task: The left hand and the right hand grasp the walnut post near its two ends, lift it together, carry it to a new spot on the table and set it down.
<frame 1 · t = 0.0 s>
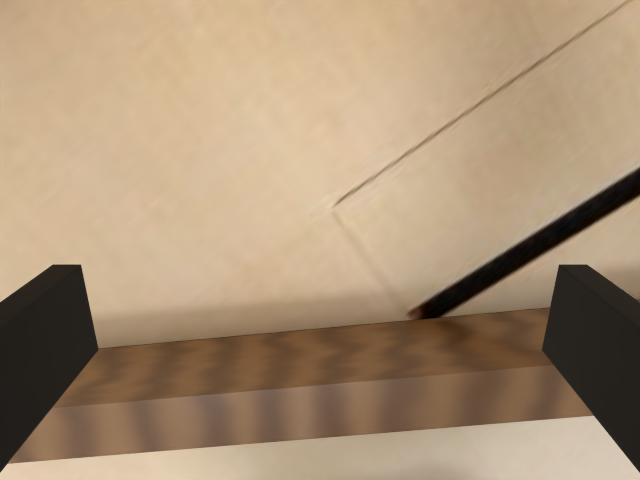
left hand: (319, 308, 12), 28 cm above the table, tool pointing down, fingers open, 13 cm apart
post: (339, 350, 46), on the table
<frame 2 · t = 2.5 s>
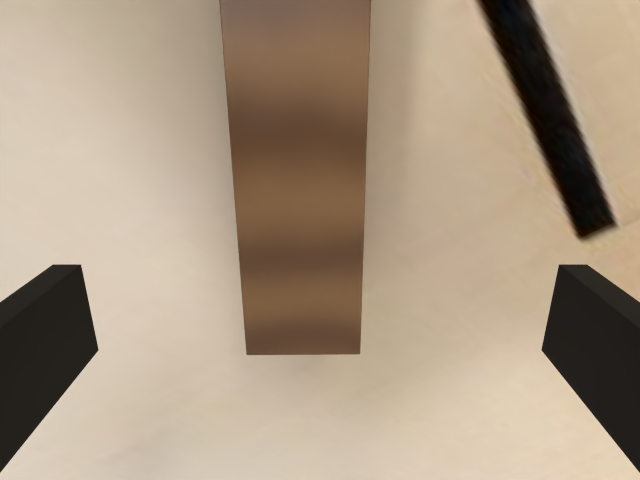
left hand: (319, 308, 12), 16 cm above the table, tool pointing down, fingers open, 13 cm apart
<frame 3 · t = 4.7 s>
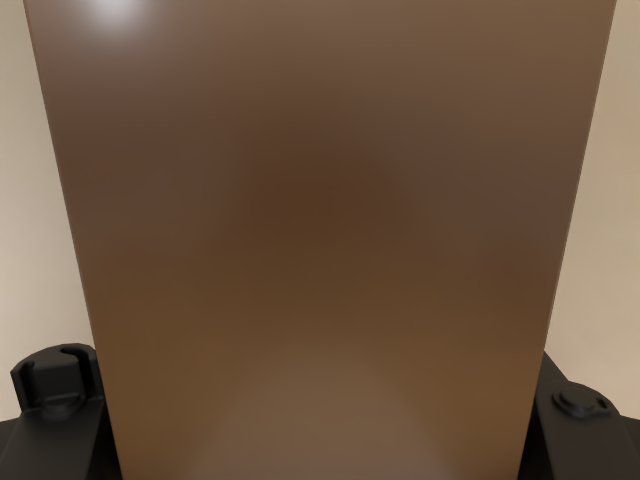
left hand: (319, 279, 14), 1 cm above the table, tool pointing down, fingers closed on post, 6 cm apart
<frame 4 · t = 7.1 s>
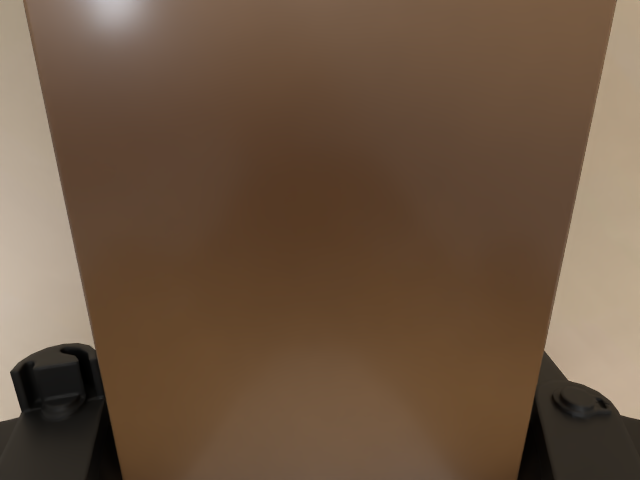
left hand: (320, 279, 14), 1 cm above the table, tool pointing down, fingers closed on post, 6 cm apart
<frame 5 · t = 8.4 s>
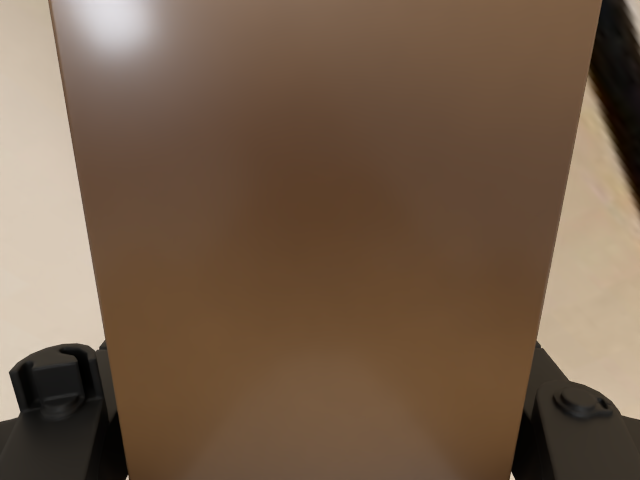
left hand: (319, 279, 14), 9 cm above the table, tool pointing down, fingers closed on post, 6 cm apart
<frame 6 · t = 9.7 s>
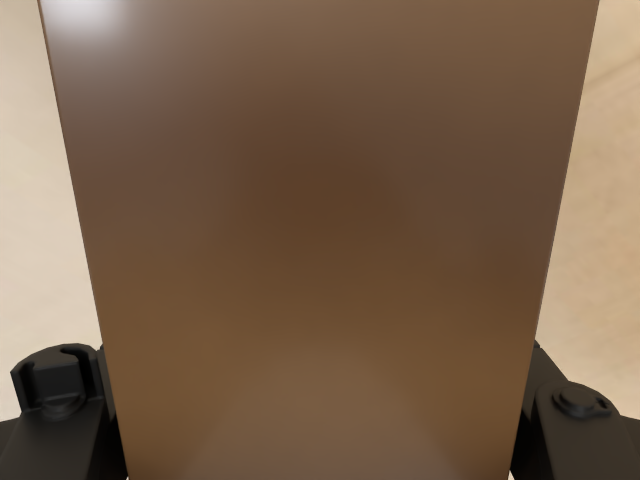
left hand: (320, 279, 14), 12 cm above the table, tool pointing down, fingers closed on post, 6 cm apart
when the left hand's fingers open (2 cm above the table, at t = 12.1 s): post drops 1 cm, on the table.
when the right hand's fingers open (5 cm above the table, at t = 12.3 s): post stays where it is, on the table.
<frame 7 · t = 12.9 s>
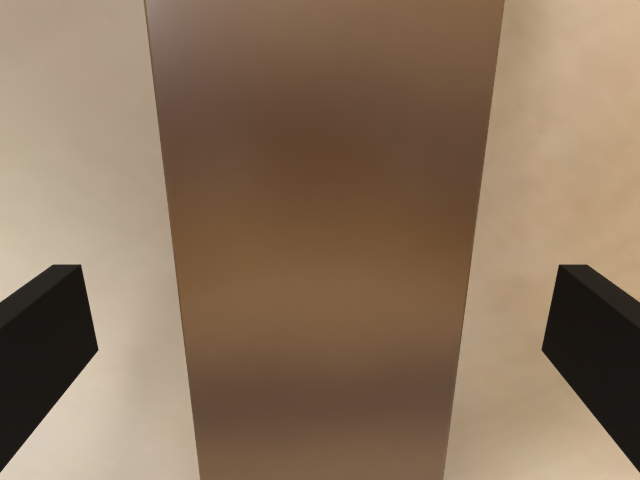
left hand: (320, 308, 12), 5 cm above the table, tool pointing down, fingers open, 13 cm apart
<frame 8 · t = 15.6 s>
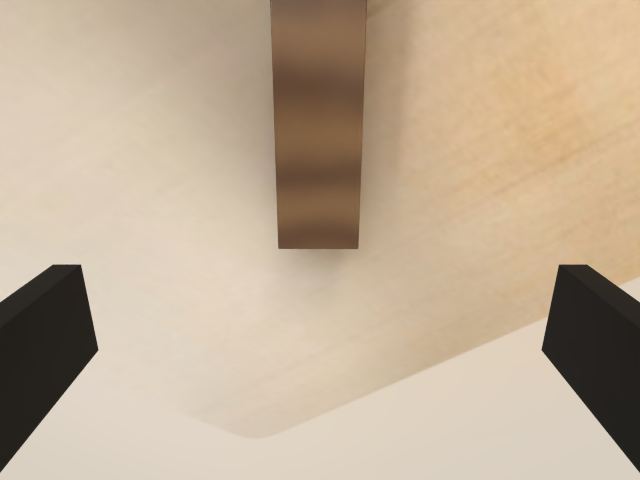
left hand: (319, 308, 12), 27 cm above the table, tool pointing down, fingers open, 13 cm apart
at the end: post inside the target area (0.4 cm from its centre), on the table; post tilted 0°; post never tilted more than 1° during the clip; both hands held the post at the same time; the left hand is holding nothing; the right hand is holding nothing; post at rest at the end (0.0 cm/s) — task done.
